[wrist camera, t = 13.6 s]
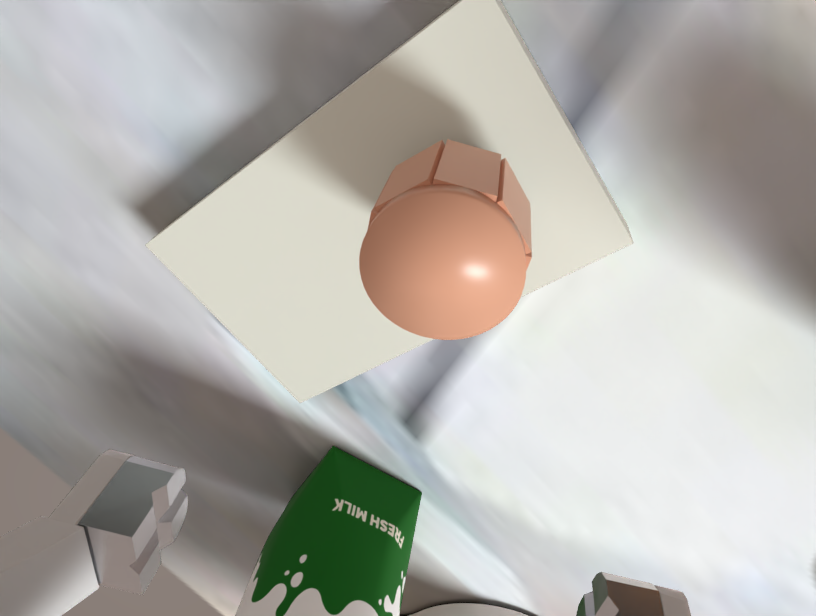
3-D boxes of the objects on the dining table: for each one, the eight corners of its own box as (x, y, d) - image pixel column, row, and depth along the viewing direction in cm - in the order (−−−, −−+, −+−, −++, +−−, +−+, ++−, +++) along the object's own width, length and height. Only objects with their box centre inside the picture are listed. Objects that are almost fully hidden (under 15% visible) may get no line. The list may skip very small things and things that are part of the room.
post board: (310, 380, 35) (262, 486, 29) (165, 227, 31) (68, 311, 24) (626, 223, 27) (660, 323, 20) (488, -23, 22) (473, 3, 16)
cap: (546, 166, 22) (551, 222, 18) (499, 287, 25) (495, 357, 21) (402, 126, 22) (375, 172, 18) (374, 252, 25) (347, 315, 21)
